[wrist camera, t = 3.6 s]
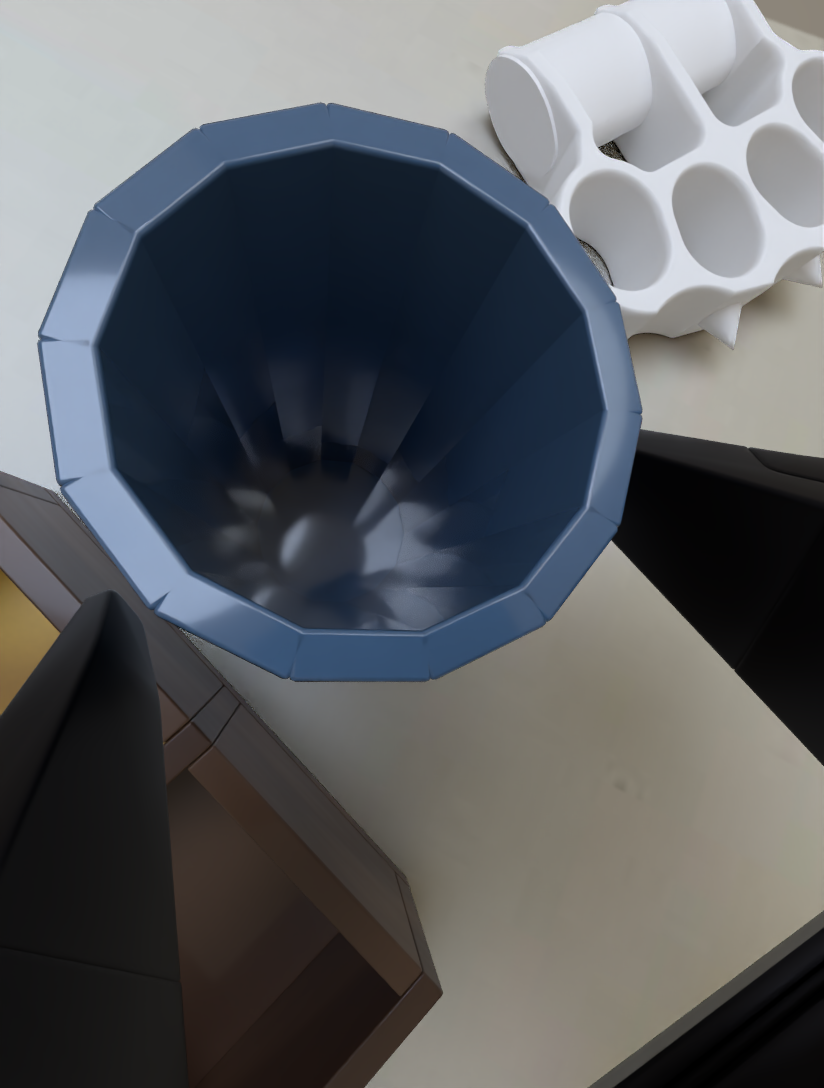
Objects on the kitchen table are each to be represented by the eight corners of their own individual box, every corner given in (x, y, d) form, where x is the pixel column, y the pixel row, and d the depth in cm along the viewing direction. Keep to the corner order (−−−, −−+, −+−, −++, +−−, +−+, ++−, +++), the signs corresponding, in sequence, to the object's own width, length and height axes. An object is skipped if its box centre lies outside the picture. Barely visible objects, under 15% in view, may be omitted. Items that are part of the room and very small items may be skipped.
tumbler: (410, 617, 18) (648, 684, 5) (238, 612, 17) (-10, 681, 4) (416, 460, 18) (642, 173, 6) (250, 444, 17) (72, 38, 5)
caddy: (407, 877, 17) (444, 994, 12) (186, 1117, 15) (123, 1374, 10) (52, 489, 16) (-65, 445, 11) (-237, 692, 14) (-538, 747, 9)
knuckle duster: (705, 5, 24) (861, 257, 24) (412, 138, 20) (605, 435, 20) (769, -89, 20) (947, 204, 21) (432, 48, 16) (661, 405, 17)
